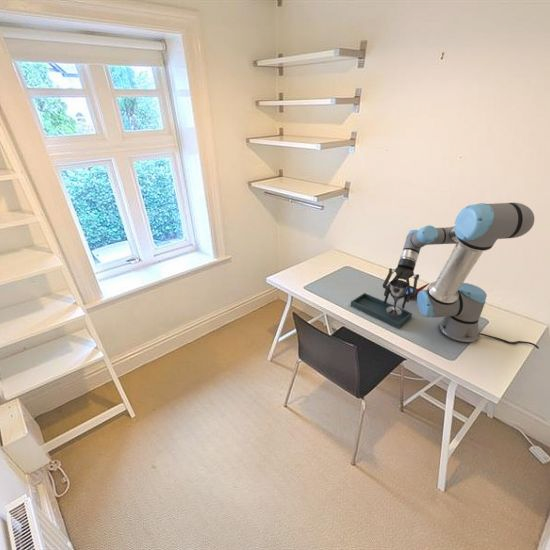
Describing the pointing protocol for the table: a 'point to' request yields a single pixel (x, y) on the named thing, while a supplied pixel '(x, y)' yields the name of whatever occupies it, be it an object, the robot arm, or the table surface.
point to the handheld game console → (416, 289)
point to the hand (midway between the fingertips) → (393, 305)
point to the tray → (380, 310)
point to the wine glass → (397, 294)
